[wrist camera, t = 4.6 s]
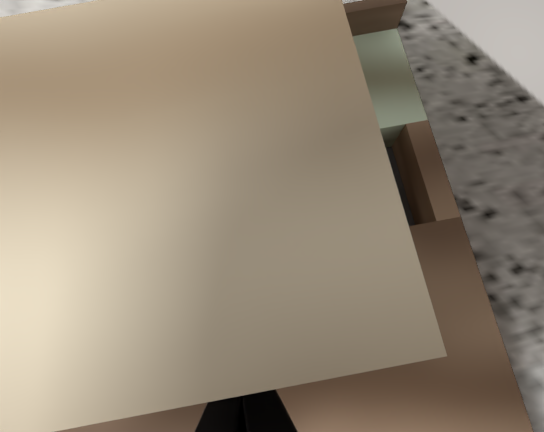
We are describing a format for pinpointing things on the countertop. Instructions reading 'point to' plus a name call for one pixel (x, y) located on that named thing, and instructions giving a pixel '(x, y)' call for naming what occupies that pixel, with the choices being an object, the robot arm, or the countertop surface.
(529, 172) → the countertop surface
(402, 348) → the birch block
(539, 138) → the countertop surface
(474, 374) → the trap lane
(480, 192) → the countertop surface
